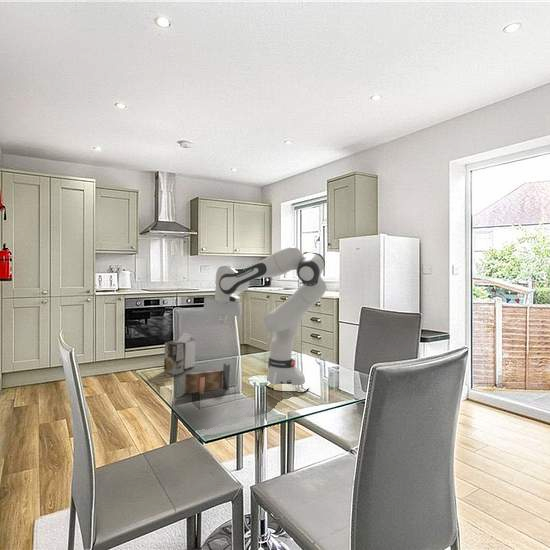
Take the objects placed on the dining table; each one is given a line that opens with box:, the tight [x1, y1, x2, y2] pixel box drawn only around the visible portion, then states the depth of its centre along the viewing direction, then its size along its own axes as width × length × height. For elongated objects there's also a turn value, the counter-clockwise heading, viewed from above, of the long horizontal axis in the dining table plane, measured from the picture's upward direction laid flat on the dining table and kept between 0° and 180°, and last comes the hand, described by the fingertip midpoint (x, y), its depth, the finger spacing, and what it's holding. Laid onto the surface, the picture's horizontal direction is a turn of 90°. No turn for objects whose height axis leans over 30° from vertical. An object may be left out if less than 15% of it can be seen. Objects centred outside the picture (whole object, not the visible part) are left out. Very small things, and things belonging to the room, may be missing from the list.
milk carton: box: [177, 332, 196, 370], centre depth 227 cm, size 7×7×19 cm
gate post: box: [222, 362, 231, 390], centre depth 196 cm, size 3×3×12 cm
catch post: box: [198, 377, 205, 395], centre depth 188 cm, size 2×2×7 cm
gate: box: [184, 369, 223, 394], centre depth 190 cm, size 18×2×9 cm, turn 120°
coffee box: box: [163, 340, 185, 375], centre depth 216 cm, size 9×6×16 cm
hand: (221, 323), depth 209 cm, fingers closed
